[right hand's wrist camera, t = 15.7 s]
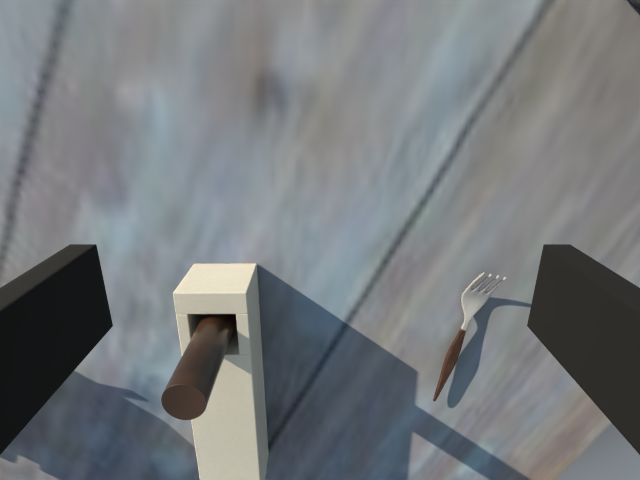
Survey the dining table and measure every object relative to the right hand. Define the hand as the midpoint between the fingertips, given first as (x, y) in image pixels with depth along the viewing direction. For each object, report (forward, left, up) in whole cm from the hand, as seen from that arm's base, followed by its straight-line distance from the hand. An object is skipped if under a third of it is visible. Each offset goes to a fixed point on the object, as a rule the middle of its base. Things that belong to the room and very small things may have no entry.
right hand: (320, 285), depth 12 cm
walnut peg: (+9, +14, -25) cm, 30 cm away
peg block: (+9, +22, -25) cm, 34 cm away
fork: (-14, +18, -25) cm, 34 cm away
